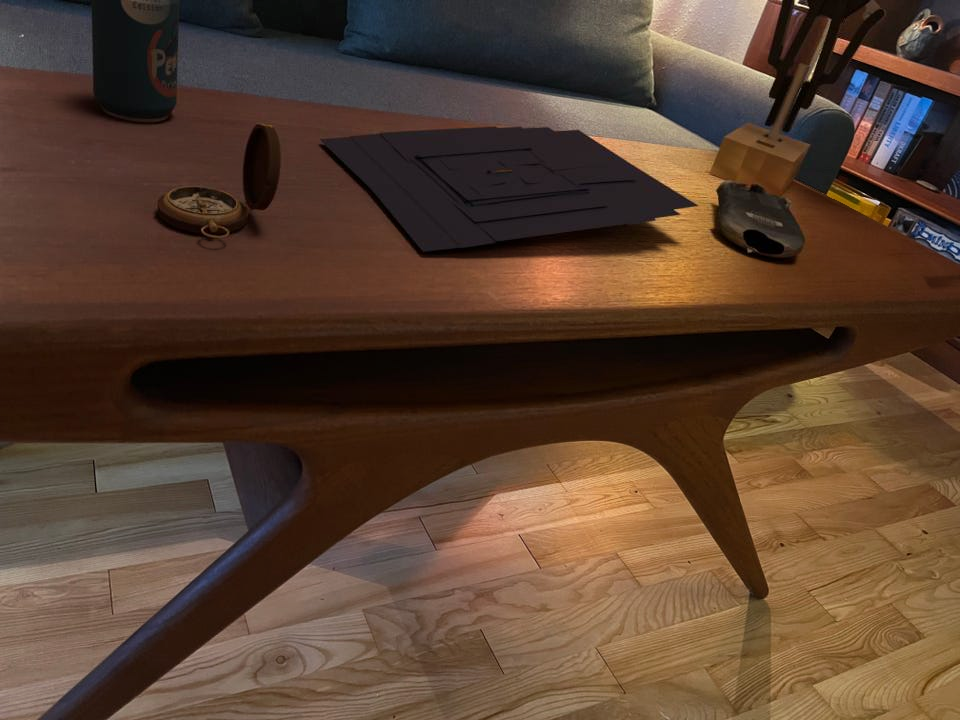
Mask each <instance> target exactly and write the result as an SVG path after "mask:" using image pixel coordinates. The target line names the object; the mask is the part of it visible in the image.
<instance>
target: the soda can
mask: <svg viewBox="0 0 960 720" xmlns="http://www.w3.org/2000/svg"><path fill="white" fill-rule="evenodd" d="M90 4H91V36H92V37H91V38H92V39H91V43H92V44H91V47H92V48H91V49H92V87H93V88H92V90H93V91H92V92H93V95H94V97H95V99H96V101H97V103H98V104H99V106H100V108H101V109H102V110H103V112H104V113H106V114H107V115H109V116H112V117H114V118H117V119H121V120H124V121H129V122H136V123H137V122H138V123H156V122H162V121H164V120H167V119H168V117H169V116H170V114H171V113H172V112H173V110H174V109H175V107H176V106H177V97H178V95H177V94H178V64H179V63H178V61H179V33H180V31H179V30H180V29H179V28H180V26H179V25H180V0H91V3H90Z"/></svg>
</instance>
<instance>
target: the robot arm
mask: <svg viewBox="0 0 960 720" xmlns="http://www.w3.org/2000/svg"><path fill="white" fill-rule="evenodd" d="M806 2H807V6H808V7H807V8H808V10H807V11H806V14H805V16H804V19H803V21H802V22H801V25H800V26H799V29H798V31H797V32H796V34H795V36H794V38H793V40H792V41H791V44H790V46H789V48H788V50H787V52H786V53H785V55H784V58H782V54H783V50H784V46H785V43H786V38H787V35H788V31H789V29H790V28H789V27H790V23H791V20H792V16H793V12H794V8H795V3H796V0H781V6H780V10H779V13H778V18H777V21H776V25H775V28H774V29H775V30H774V32H773V38H772V41H771V45H770V49H769V53H768V56H767V64H768V65H769V66H772V68H774V70H775V71H776V75H775V78H774V81H773V82H772V84H771V87H770V90H769V92H768V98H769V99H773V100H774V101H773V103H772V106H771V108H770V111H769V112H768V115H767V117H766V120H765V122H764V126H766V127H770V128H771V127H772V126H773V124H774V121H775V119H776V117H777V114H778V112H779V110H780V107H781V105H782V103H783V100H784V98H785V96H786V94H787V91H788V89H789V87H790V84H791V82H792V80H793V77H794V75H790V72H791V71H792V68H793V66H794V65H795V63H796V61H797V59H798V57H799V55H800V53H801V51H802V49H803V48H804V46H805V44H806V42H807V40H808V38H809V36H810V34H811V32H812V30H813V29H814V27H815V25H816V23H817V21H818V20H819V18H820V16H825V17H827V18H828V19H830V22H829V25H828V29H827V32H826V36H825V38H824V41H823V43H822V47H821V49H820V52H819V56H818V58H817V60H816V63H815V67H814V70H813V73H812V75H811V78H810V79H809V80H804V82H803V84H802V86H801V88H800V91H799V93H798V95H797V98H796V100H795V102H794V104H793V107H792V109H791V111H790V113H789V116H788V118H787V120H786V123H785V125H784V127H783V129H782V132H783V133H786V134H788V133H789V132H791V130H792V128H793V126H794V124H795V121H796V119H797V117H798V115H799V112H800V110H801V109H802V110H805V111H807V110H808V109H809V108H810V107H811V106H812V104H813V102H814V100H815V97H816V95H817V93H818V91H819V89H820V87H821V86H822V85H834V84H836V83H837V82H838V81H839V80H840V78H841V77H842V75H843V73H844V72H845V70H846V69H847V67H848V65H849V64H850V63H851V62H852V59H853V58H854V56H855V55H856V53H857V51H858V50H859V48H860V47H861V46H862V44H863V42H864V41H865V39H866V37H867V36H868V35H869V33H870V31H871V29H872V28H873V27H875V26H876V25H877V24H878V23H880V22H881V21H882V20H883V19H884V18H885V17H886V15H887V11H886V10H885V9H884V8H882V7H880V5H879V4H878V3H877V2H876V1H875V0H806ZM864 7H865V11H864V12H863V13H862V19H863V22H862V23H861V24H860V25H859V27H858V28H857V29H856V31H855V33H854V34H853V36H852V37H851V39H850V41H849V43H848V44H847V46H846V47H845V49H844V51H843V52H842V53H841V55H840V56H839V59H838V60H837V62H836V63H835V65H834V66H833V68H832V70H831V71H830V73H826V72H827V70H828V66H829V63H830V61H831V58H832V55H833V52H834V49H835V47H836V44H837V41H838V39H839V35H840V33H841V30H842V28H843V25H844V22H845V20H847V19H848V18H849V17H852V16H853V14H855V13H856V12H858V11H859V10H861V9H863V8H864Z"/></svg>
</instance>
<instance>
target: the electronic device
mask: <svg viewBox="0 0 960 720" xmlns="http://www.w3.org/2000/svg"><path fill="white" fill-rule="evenodd" d="M747 185H748V184H745V183H735V182H732V181H730V180H724V181H722V182H720V184H719V185H718V187H717V188H716V189H715V192H716V194H717V201H718V202H717V203H718V214H717V215H716V227H717V229H718V232H720V233H721V235H723V237H724V238H725V239H726V240H727V241H728V242H730V243H732V244H733V245H735V246H737V247H739V248H740V249H743V250H746V251H747V253H753V254H757V255H761V256H763V257H768V258H776V259H787V258H792V257H796V256H797V255H800V254H801V252H802V251H803V249H804V244H805V242H806V240H805V235H804V233H803V230H802V229H801V226H800V225H799V223H798V222H797V220H796V218H795V216H794V215H793V213H792V211H791V210H790V209H792V201H791V200H790V199H789V198H788V197H786V196H781V195H780V196H776V195H773V194H769V193H767V192H766V189H765V188H763V187H762V186H760V185H758V184H751V187H750V188H746V187H745V186H747Z"/></svg>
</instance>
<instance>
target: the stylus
mask: <svg viewBox="0 0 960 720" xmlns="http://www.w3.org/2000/svg"><path fill="white" fill-rule="evenodd" d="M810 69H811V66H810V65H808V64H805V63H802V62H801V63H799V64H798V66H797V68H796V71H795V73H794V75H793V76H794V77H793V80H792V82H791V84H790V87H789V89H788V91H787V93H786V96H785V98H784V100H783V103H782V105H781V107H780V110H779V112H778V114H777V117H776V119H775V121H774V124H773V125H772V126H771V127H770V128H771V129H770V133H769V135H768V137H767V138H770V139H773V140H775V141H778V138H779V136H780V134H781V135H782V132H783V131H782V130H783V128H784V125H785V123H786V121H787V118H788V116H789V114H790V112H791V109H792V107H793V105H794V103H795V100H796V98H797V96H798V93H799V91H800V89H801V87H802V84H803V82H805V79H806V77H807V75H808V73H809V70H810Z"/></svg>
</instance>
